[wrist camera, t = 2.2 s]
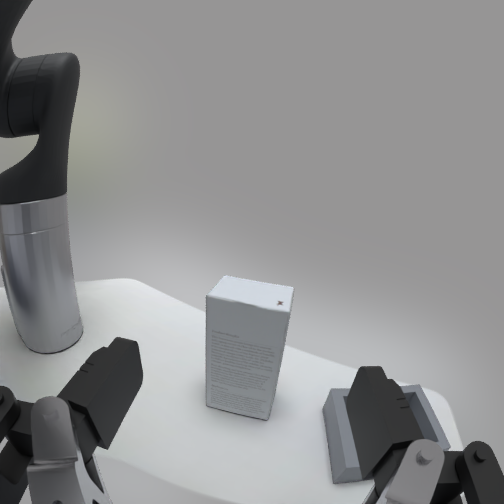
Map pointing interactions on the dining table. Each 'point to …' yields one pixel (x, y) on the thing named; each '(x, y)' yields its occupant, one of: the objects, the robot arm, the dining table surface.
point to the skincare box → (245, 344)
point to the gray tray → (342, 438)
